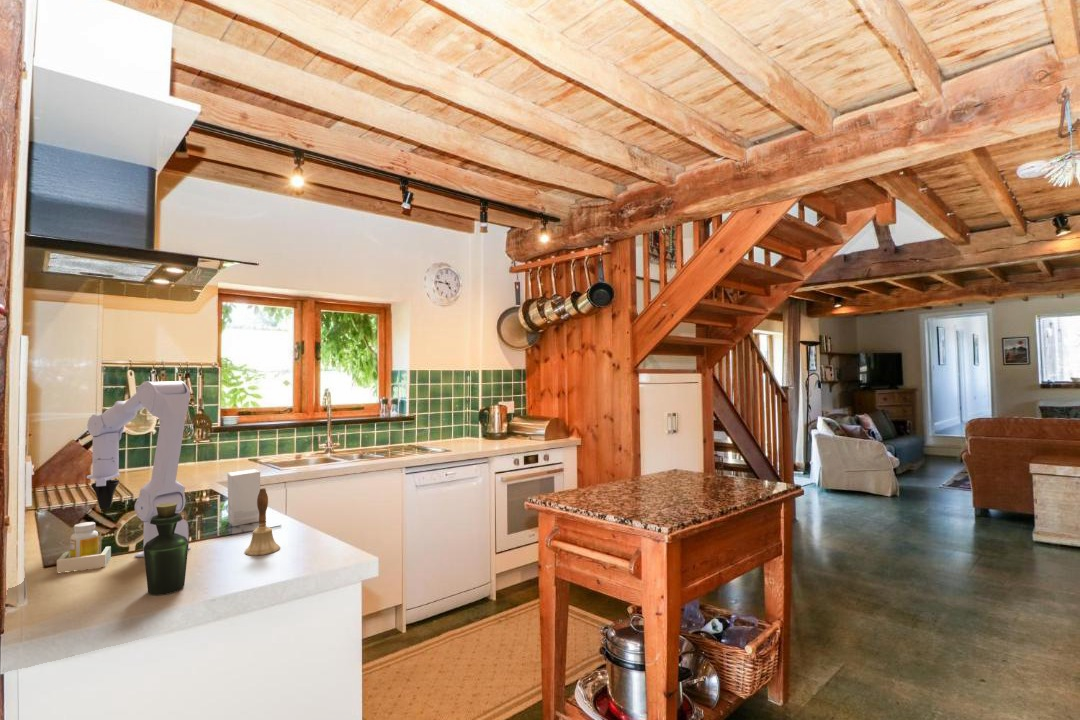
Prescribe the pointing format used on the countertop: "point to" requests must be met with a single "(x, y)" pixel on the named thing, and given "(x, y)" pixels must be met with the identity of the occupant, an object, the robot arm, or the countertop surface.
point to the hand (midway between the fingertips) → (105, 508)
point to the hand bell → (262, 531)
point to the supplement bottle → (84, 540)
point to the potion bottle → (166, 553)
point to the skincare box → (243, 497)
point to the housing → (83, 561)
